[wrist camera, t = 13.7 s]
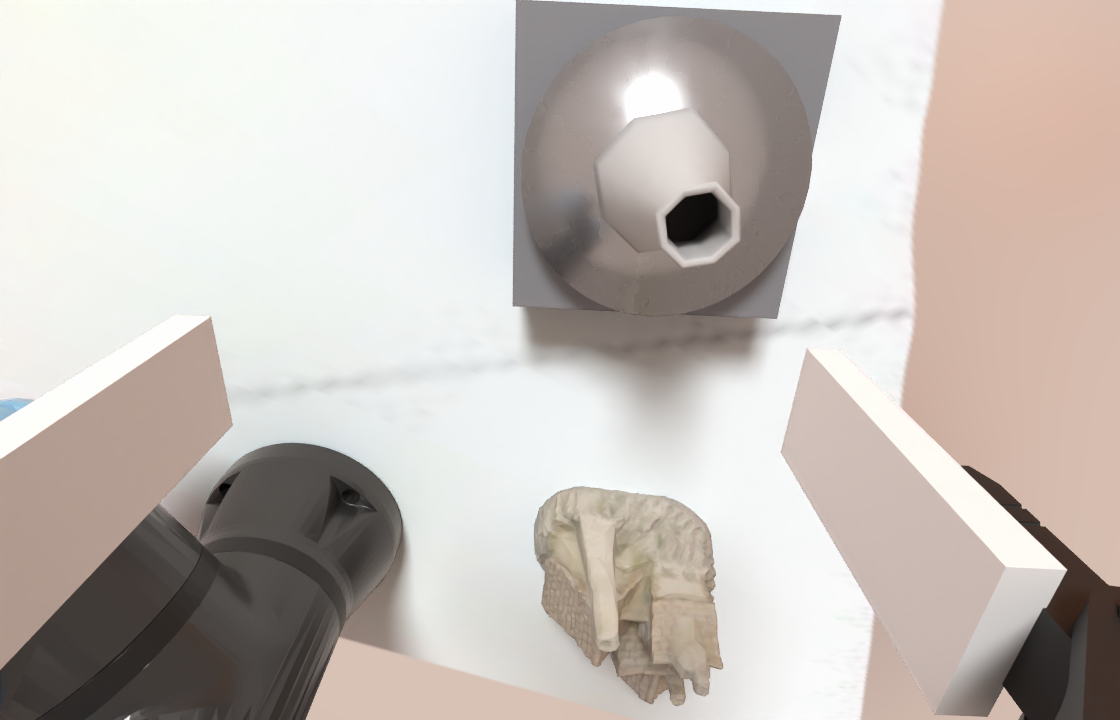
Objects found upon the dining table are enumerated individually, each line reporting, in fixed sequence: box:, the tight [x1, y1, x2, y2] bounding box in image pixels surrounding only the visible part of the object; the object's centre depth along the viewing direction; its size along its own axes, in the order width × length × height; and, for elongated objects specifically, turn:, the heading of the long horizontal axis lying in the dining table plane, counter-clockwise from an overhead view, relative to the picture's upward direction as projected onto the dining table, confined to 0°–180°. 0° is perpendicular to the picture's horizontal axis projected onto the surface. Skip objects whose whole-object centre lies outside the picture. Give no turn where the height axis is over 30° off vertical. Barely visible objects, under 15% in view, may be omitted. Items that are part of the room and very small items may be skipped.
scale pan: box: [521, 16, 812, 316], centre depth 32 cm, size 15×15×1 cm
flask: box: [593, 107, 741, 270], centre depth 27 cm, size 7×7×10 cm
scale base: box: [513, 0, 842, 319], centre depth 35 cm, size 16×16×6 cm
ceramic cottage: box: [534, 487, 723, 706], centre depth 46 cm, size 16×16×15 cm
